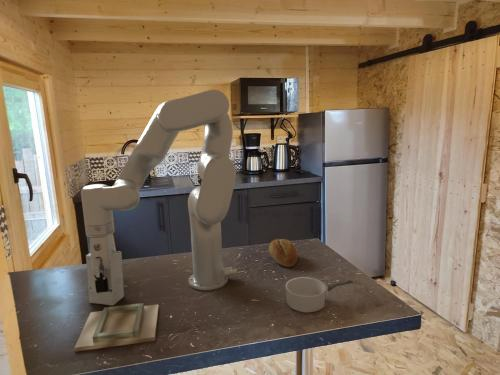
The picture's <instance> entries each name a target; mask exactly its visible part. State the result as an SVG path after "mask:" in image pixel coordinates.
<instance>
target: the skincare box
mask: <svg viewBox="0 0 500 375" xmlns="http://www.w3.org/2000/svg"><path fill="white" fill-rule="evenodd" d="M122 254H123V253H122V251H119V250H116V251H114V252H113V254H112V257H111V263H112V268H111V269H110V270H109V269H106V278H107V279H108V288H109V290H108V292H101V293H97V292H96V286H95V277H94V270H93V268H92V263H91V253H90V254H89V253H87V254H85V260H86V261H85V262H86V274H87V277H86V278H87V287H88V288H87V289H88V290H87V292H88V300H89V304H98V305H106V306H107V305H108V306H110V307H114V306H115V305H116V304H117V303H118V302H119V301H121V300H122V299H123V298H124V297H125V292H124V291H125V290H124V289H125V288H124V274H123V272H124V271H123V255H122ZM100 268H104V267H100ZM100 273H102V274H103V271H101V272H100Z"/></svg>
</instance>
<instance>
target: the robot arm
mask: <svg viewBox="0 0 500 375" xmlns="http://www.w3.org/2000/svg"><path fill="white" fill-rule="evenodd" d="M229 110H230V101H229V99H228V96H227V95H226V94H225V93H224V92H223V91H221V90H219V89H209V90H205V91H202V92H201V91H200V92H198V93H194V94H192V95H187V96H184V97H179V98H175V99H174V98H173V99H171V100H170V99H169V100H167V101H163V102H162V103H160V104H159V105H158V107H157V108H156V110H154V113H153V114H152V117H151V118H150V120H149V122H148V124H147V125H146V127H145V129H144V130H143V132H142V134H141V135H140V137H139V139H138V141H137V143H136V144H135V146H134V148H133V150H132V152H131V153H130V156H129V158H128V159H127V161H126V163H125V164H124V166H123V168H122V169H121V172H120V173H119V174H118V176H117V177H116V180H115V182H114V184H113V185H112V186H109V185H107V184H103V183H95V184H89V185H85V186H83V187H82V188H81V190H80V197H81V204H82V206H81V207H82V212H83V222H84V228H85V229H84V230H85V236H86V237H87V236H88V237H90V253H91V263H92V268H93V270H94V277H95V286H96V292H97V293H101V292H108V290H109V288H108V279H107V278H106V269H109V270H110V269H111V268H112V263H111V257H112V254H113V252H114V251H117V250H116V242H115V236H114V234H115V230H116V229H115V222H114V214H113V213H114V212H113V211H118V212H119V211H121V212H125V211H130V210H133V209H135V208H136V207H137V206H138V205H139V203H140V199H141V195H140V190H141V188H142V187H143V185H144V183H145V181H146V180H147V178H148V177H149V175H150V174H151V173H152V171H153V170H154V169H155V168H156V167H157V166H159V165H160V164H161V163H162V161H163V160H165V157H166V156H167V154H168V152H169V150H170V149H171V147H172V145H173V143H174V141H175V139H176V138H177V137H178V135H179V133H180V132H183V131H184V132H185V131H188V130H192V129H195V128H198V127H202V126H203V129H204V134H203V142H202V147H201V152H200V155H199V158H198V159H199V160H198V163H197V168H196V169H197V173H198V176H199V177H200V179H201V183H200V185H199V186H196V187H195V188H193V189H192V190H191V192H190V193H189V195H188V198H187V208H188V210H187V211H188V215H189V224H190V242H191V258H192V274H191V275H190V276H189V278H188V285H189V286H190V287H191V288H192V289H195V290H199V291H213V290H214V291H215V290H216V289H219V288H222V287H224V286H225V285H226V284H227V283H228V280H229V279H228V278H229V277H230V276H237V275H238V269H237V268H233V267H232V266H228V267H226V266H224V263H223V250H222V249H223V247H222V246H223V244H222V223H221V222H222V221H223V220H224V219H225V218H226V216H227V213H228V212H229V209H230V206H231V201H232V197H233V192H234V188H235V185H236V184H235V182H236V178H237V177H236V176H237V172H236V170H237V169H236V166H235V163H234V161H233V160H232V159H231V158H230V152H231V147H232V146H231V145H232V142H233V134H234V132H233V125H232V121H231V119H230V116H229V114H228V113H229ZM100 267H104V268H100ZM101 271H103V274H102V273H100V272H101ZM228 276H229V277H228Z"/></svg>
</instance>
